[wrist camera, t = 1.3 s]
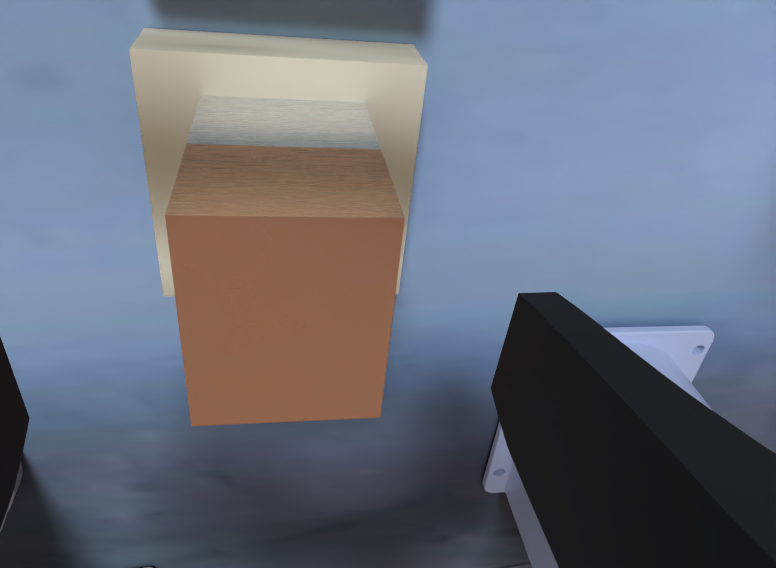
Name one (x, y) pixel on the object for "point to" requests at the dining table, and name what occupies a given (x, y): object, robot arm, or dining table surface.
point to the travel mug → (14, 490)
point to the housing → (283, 261)
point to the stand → (269, 80)
